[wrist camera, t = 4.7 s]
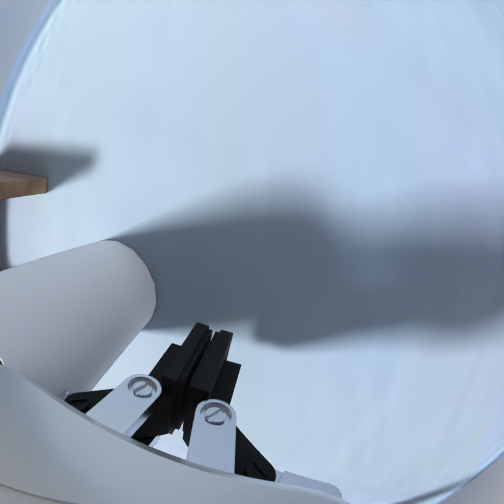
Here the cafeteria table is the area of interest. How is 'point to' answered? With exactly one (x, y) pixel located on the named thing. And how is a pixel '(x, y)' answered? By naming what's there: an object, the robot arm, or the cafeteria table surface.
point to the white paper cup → (73, 314)
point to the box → (20, 184)
